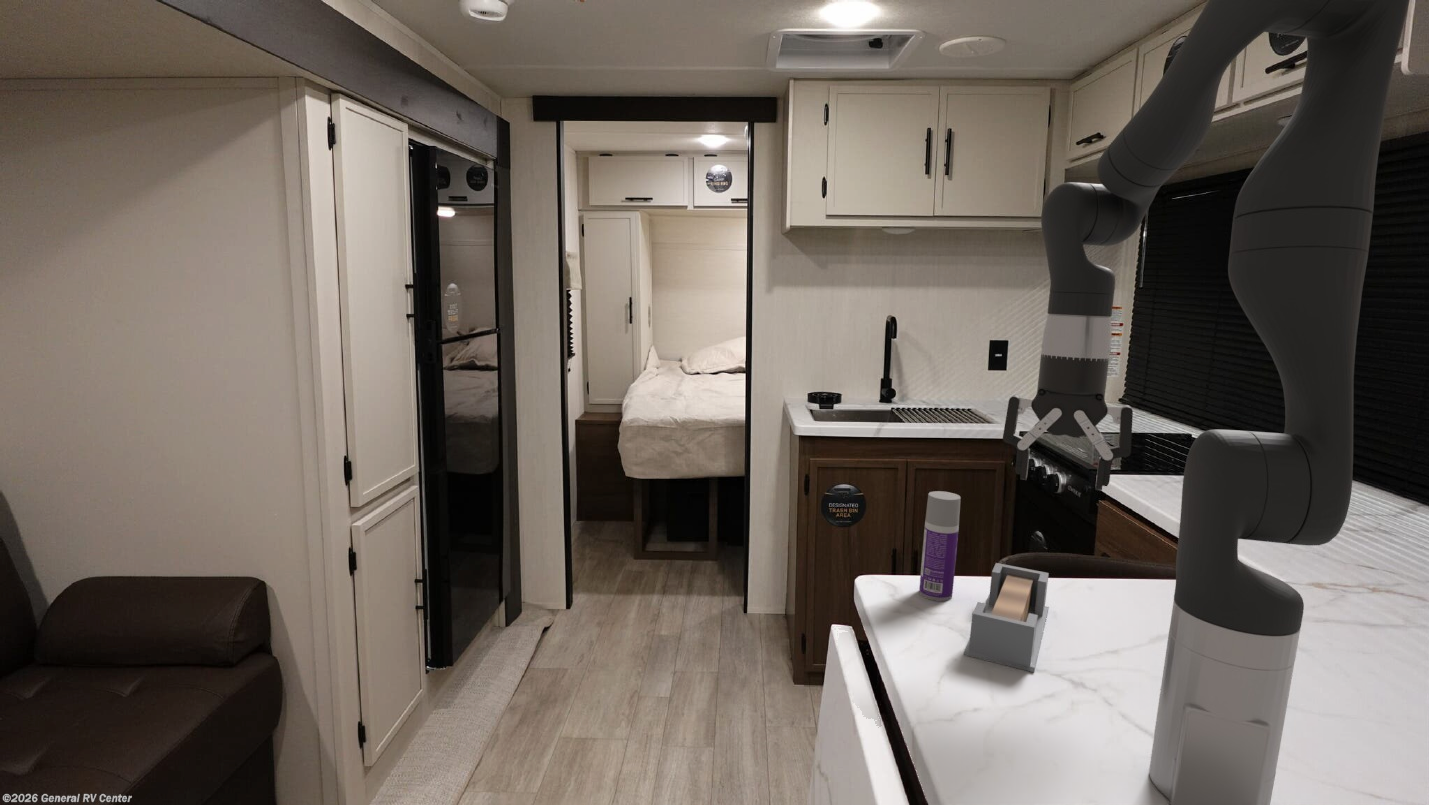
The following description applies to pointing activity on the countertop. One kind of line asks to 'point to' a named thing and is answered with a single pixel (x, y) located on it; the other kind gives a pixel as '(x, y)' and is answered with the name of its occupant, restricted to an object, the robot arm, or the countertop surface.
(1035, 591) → the endcap rail
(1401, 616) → the countertop surface
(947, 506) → the container
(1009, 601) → the slat
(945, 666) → the countertop surface
